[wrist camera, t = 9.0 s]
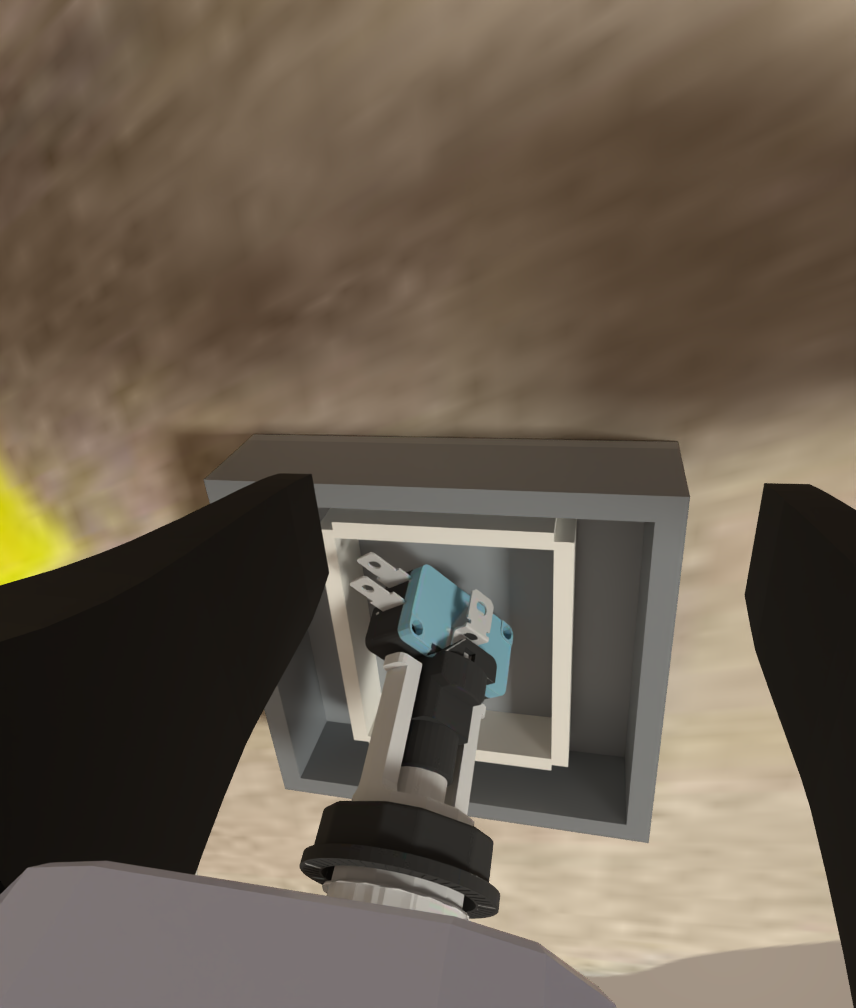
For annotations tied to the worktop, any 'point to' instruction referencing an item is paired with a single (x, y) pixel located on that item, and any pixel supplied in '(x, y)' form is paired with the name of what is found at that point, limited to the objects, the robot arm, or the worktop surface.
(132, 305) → the worktop surface
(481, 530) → the cream rectangular frame
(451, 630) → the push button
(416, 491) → the grey square tray
